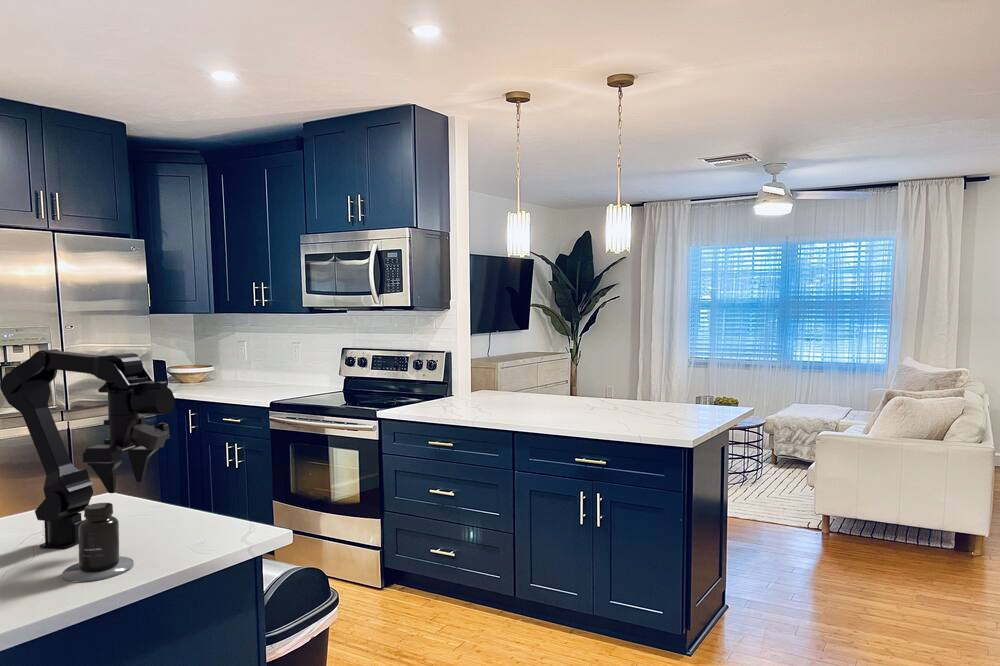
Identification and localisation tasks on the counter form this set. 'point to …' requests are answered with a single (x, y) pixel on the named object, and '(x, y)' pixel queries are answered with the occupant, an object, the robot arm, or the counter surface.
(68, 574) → the slate coaster
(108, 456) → the robot arm
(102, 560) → the supplement bottle
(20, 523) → the counter surface
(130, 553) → the counter surface
